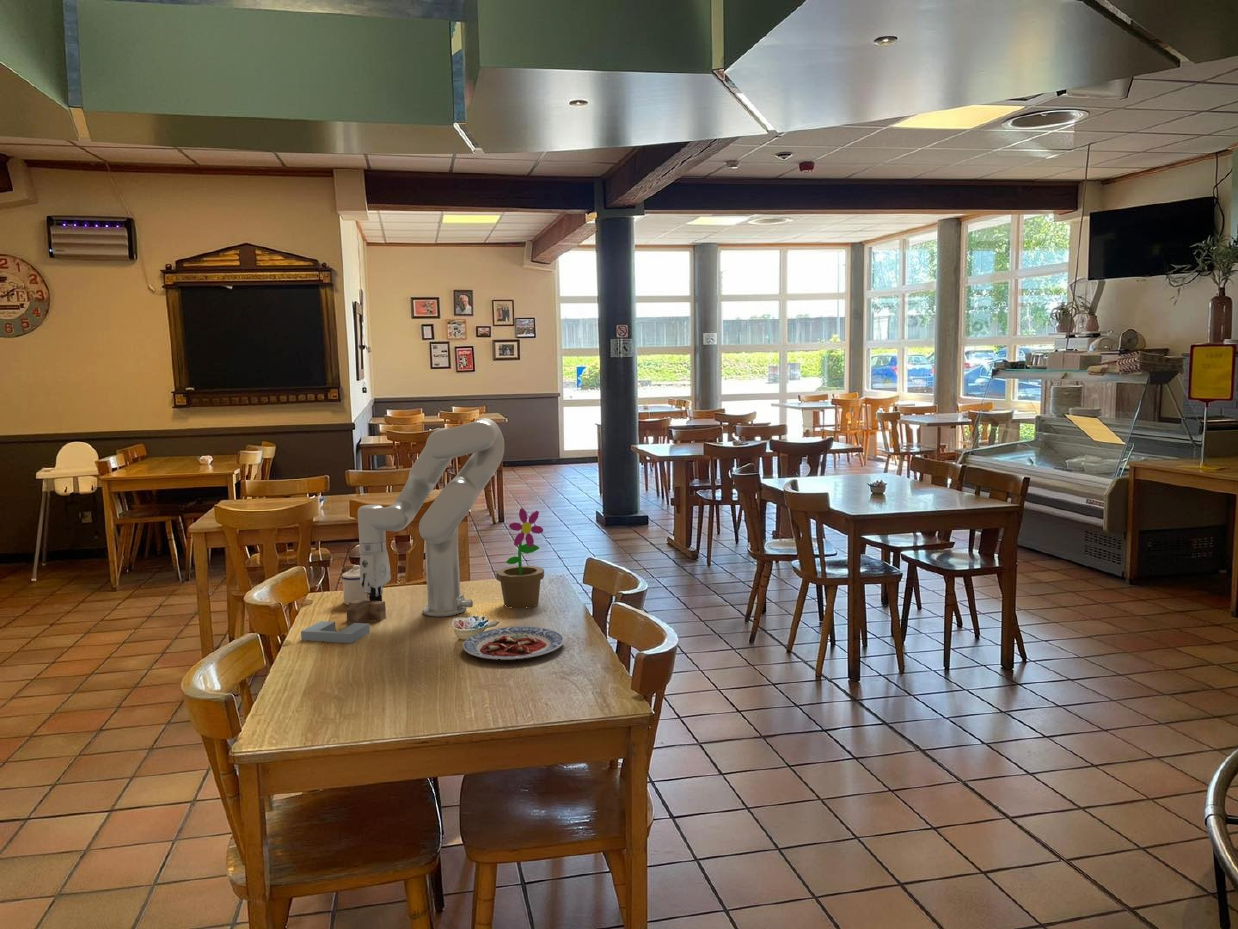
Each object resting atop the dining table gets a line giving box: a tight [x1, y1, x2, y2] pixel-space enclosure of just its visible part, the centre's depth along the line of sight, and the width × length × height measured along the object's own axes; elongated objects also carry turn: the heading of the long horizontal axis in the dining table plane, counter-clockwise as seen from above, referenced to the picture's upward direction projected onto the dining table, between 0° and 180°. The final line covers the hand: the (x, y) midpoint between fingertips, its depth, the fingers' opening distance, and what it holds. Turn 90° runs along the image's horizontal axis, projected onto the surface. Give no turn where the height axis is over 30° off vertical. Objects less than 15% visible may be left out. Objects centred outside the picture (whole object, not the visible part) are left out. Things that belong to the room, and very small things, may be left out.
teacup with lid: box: [341, 564, 370, 606], centre depth 280 cm, size 12×9×12 cm
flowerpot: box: [495, 507, 545, 609], centre depth 271 cm, size 14×14×30 cm
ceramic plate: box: [462, 626, 565, 661], centre depth 231 cm, size 26×26×3 cm
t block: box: [345, 600, 387, 627], centre depth 257 cm, size 10×10×5 cm
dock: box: [300, 620, 371, 644], centre depth 245 cm, size 15×10×2 cm, turn 76°
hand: (376, 608), depth 266 cm, fingers closed
